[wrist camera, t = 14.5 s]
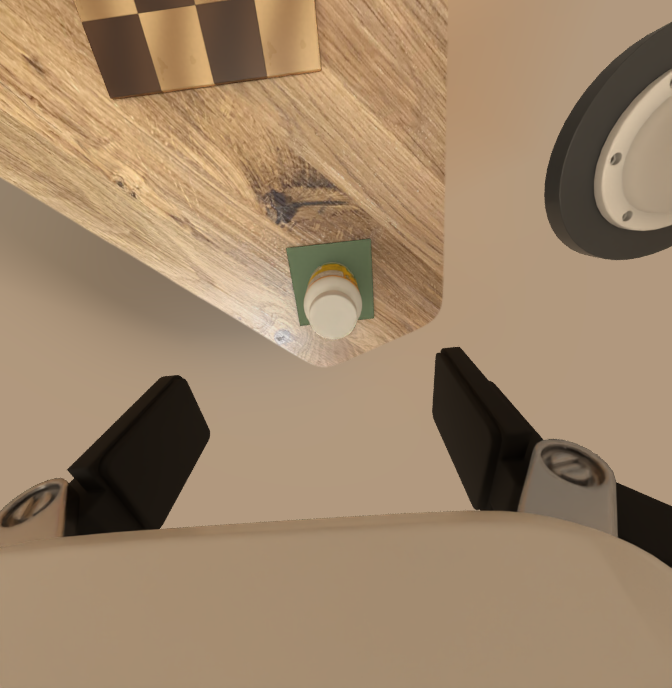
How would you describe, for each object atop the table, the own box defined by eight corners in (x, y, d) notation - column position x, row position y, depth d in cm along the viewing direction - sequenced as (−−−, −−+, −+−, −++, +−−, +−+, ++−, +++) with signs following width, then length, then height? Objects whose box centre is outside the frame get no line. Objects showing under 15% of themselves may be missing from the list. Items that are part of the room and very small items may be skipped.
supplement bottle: (306, 263, 29) (295, 287, 21) (355, 259, 29) (365, 282, 20) (312, 310, 32) (304, 348, 23) (357, 306, 31) (366, 344, 23)
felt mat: (370, 238, 28) (370, 238, 28) (373, 317, 32) (374, 318, 32) (286, 247, 29) (286, 248, 28) (300, 324, 33) (300, 325, 32)
